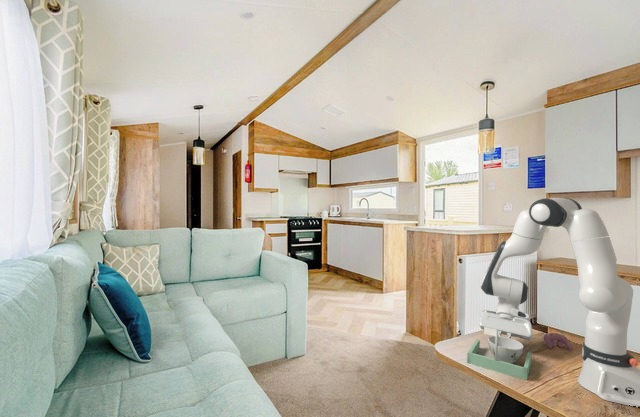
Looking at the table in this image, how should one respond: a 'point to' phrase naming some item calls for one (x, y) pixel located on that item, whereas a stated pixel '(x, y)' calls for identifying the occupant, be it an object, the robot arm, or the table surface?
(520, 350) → the teacup
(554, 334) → the video game controller
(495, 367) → the corral
